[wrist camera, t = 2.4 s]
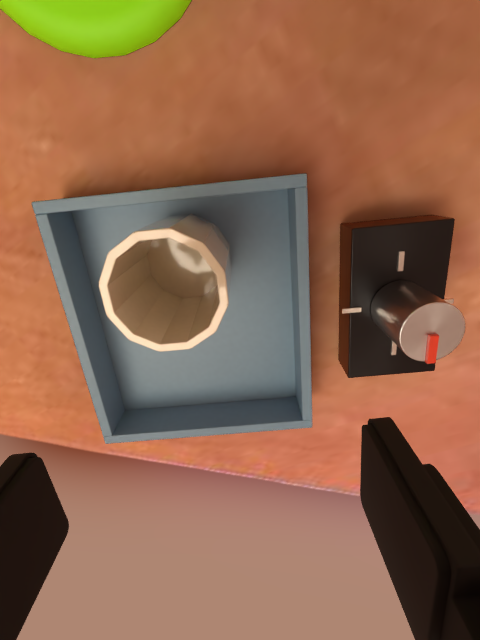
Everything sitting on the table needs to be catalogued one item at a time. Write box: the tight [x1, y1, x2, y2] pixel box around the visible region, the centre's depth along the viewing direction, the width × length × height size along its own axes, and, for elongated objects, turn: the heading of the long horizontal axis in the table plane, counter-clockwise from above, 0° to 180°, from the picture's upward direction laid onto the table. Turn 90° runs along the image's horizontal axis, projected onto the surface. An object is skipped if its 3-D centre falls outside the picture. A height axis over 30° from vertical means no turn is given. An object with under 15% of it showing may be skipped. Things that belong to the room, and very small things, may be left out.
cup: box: [99, 213, 232, 352], centre depth 22 cm, size 7×7×9 cm
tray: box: [32, 173, 312, 444], centre depth 27 cm, size 20×18×4 cm
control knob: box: [371, 280, 465, 364], centre depth 23 cm, size 4×4×5 cm
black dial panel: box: [339, 215, 455, 378], centre depth 27 cm, size 12×8×3 cm
